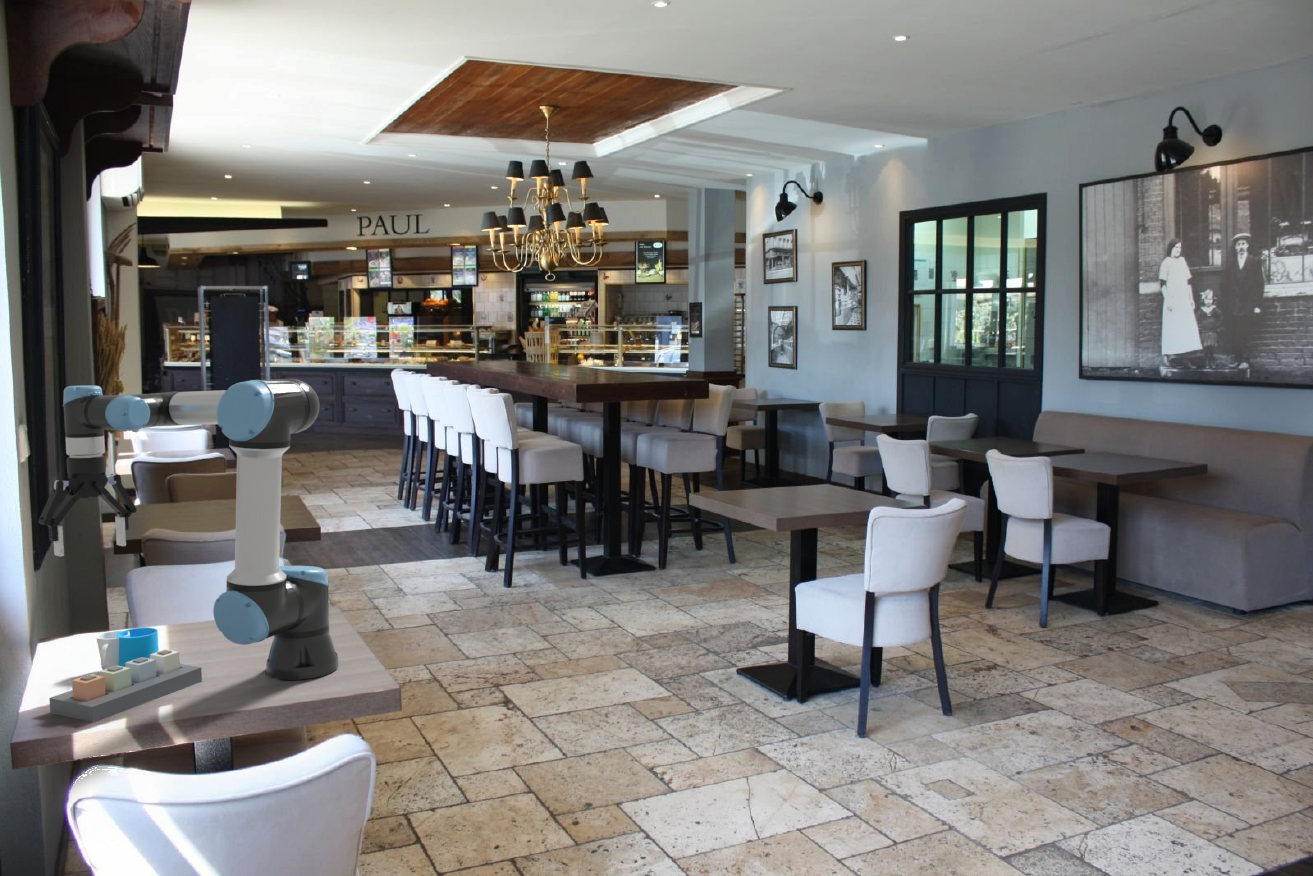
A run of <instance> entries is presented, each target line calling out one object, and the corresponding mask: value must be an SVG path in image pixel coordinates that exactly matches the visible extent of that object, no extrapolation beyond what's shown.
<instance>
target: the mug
mask: <svg viewBox="0 0 1313 876" xmlns="http://www.w3.org/2000/svg"><path fill="white" fill-rule="evenodd" d="M120 631H121V632H119V633H118V634H117V635H116V636H117V638H119V666H122V667H125V663H126V662H129V661H132V660H135V659H138V658H141V657H143V658H149V659H150V654H153V653H156V652H159V632H158V629H156V628H154V627H136V628H135V627H134V628H130V629H126V630H125V629H124V630H120ZM128 631H129V633H130V637H124V636H125V635H127V632H128Z"/></svg>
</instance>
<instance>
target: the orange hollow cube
mask: <svg viewBox="0 0 1313 876" xmlns="http://www.w3.org/2000/svg"><path fill="white" fill-rule="evenodd" d="M71 687H72V690H73V699H77V700H82V701H87V702H88V701H90V700H93V699H96V698H99V697H102V696H104V695H105V677H102V676H100V675H96V674H92V673H91V674H90V673H89V674H87V675H84V676H81V677H78V678H75V679H72V680H71Z"/></svg>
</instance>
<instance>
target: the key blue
mask: <svg viewBox="0 0 1313 876" xmlns="http://www.w3.org/2000/svg"><path fill="white" fill-rule="evenodd" d="M125 667H128V668H131V681H133V682H138V683H141V682H144V681H147V680H150V679H152V678H155V677H156V660H154V659H149V658H143V657H141V658H138V659H135V660H132V661H129V662H126V663H125Z"/></svg>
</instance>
